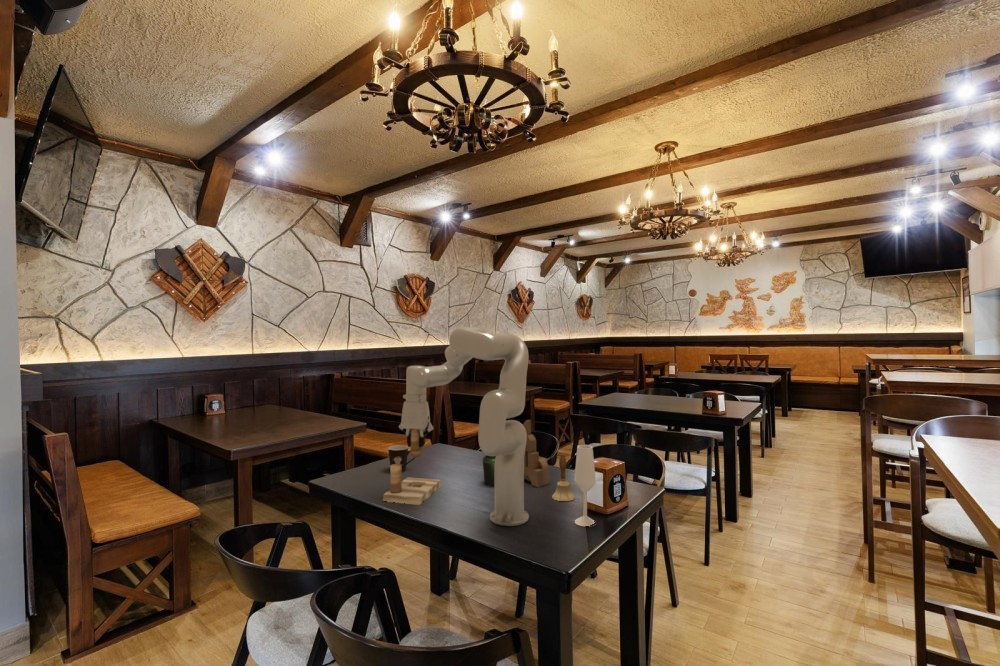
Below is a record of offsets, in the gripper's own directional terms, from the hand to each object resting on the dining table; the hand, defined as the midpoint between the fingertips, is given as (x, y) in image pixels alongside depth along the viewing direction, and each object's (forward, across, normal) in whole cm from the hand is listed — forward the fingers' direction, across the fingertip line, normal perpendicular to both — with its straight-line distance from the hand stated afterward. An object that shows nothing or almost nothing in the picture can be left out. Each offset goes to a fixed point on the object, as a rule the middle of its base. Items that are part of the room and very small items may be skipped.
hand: (415, 445), depth 175 cm
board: (+17, 0, -3) cm, 17 cm away
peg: (+4, 0, 0) cm, 4 cm away
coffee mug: (+18, -16, +22) cm, 33 cm away
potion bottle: (+17, +26, +15) cm, 35 cm away
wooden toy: (+17, +40, +22) cm, 49 cm away
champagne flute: (+16, +64, -14) cm, 68 cm away
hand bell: (+17, +56, +6) cm, 58 cm away
